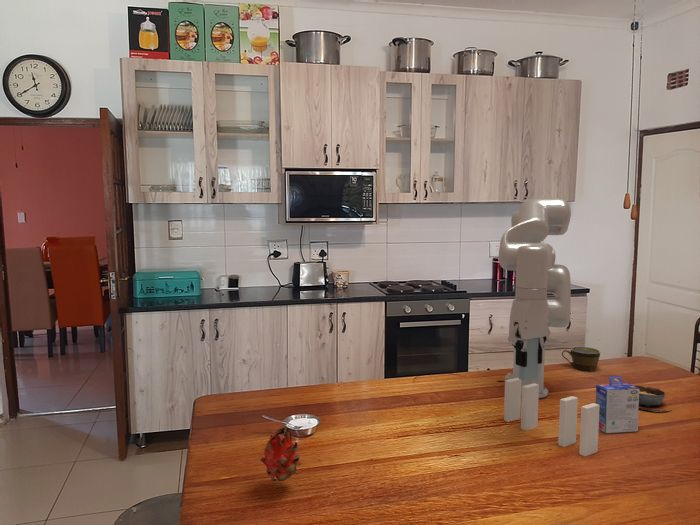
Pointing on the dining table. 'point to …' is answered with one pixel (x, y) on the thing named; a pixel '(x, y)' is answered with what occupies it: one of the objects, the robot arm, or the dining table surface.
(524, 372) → the domino
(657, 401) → the soup bowl
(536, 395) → the domino
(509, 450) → the dining table surface
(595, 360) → the ceramic cup
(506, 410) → the domino
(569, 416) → the domino
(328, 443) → the dining table surface
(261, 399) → the dining table surface
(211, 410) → the dining table surface
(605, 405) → the ink cartridge box
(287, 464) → the dragon fruit
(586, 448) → the domino
